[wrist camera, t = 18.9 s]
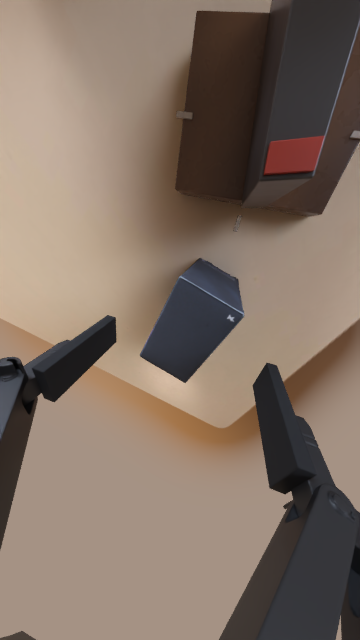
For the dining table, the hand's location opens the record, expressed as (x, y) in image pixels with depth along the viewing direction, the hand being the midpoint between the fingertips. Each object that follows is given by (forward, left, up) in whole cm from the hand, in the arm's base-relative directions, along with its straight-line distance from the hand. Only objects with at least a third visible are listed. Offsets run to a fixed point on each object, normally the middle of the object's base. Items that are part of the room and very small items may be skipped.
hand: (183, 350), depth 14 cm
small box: (0, 0, -12) cm, 12 cm away
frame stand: (-2, -17, -12) cm, 21 cm away
